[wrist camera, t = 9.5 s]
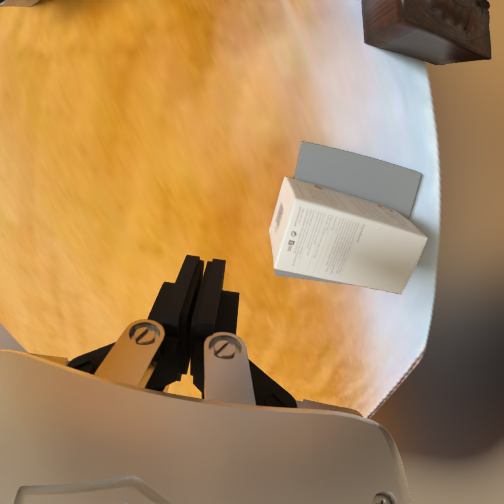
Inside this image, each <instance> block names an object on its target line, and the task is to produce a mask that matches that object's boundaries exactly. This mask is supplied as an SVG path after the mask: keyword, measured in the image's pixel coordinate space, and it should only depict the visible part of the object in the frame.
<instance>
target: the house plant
mask: <svg viewBox="0 0 504 504" xmlns="http://www.w3.org/2000/svg"><path fill="white" fill-rule="evenodd" d="M38 1H39V0H0V7H3V6H14V7H30V6H32V5H34V4H36V3H37V2H38Z"/></svg>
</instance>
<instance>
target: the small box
mask: <svg viewBox="0 0 504 504" xmlns="http://www.w3.org/2000/svg"><path fill="white" fill-rule="evenodd" d="M269 233H270V238H271V245H272V252H273V261H274V269H277V270H282V271H287V272H291V273H296V274H301V275H306V276H311V277H316V278H321V279H326V280H331V281H336V282H341V283H346V284H351V285H356V286H361V287H366V288H371V289H376V290H382V291H387V292H392V293H396V294H402V292H403V290H404V288H405V286H406V284H407V283H408V281H409V279H410V277H411V275H412V273H413V271H414V269H415V267H416V265H417V263H418V260H419V258H420V256H421V254H422V252H423V249H424V247H425V244H426V242H427V240H428V237H427V236H426V235H424V234H423V233H422V232H421V231H420V230H419V229H418V228H417V227H416V226H415V225H414V224H413V223H411V222H410V221H409V220H407V219H406V218H405V217H403V216H402V215H401V214H400V213H398V212H397V211H395V210H394V209H391V208H388V207H386V206H383V205H380V204H377V203H374V202H371V201H368V200H365V199H361V198H358V197H355V196H352V195H349V194H346V193H343V192H339V191H335V190H332V189H329V188H325V187H322V186H318V185H315V184H311V183H308V182H304V181H301V180H297V179H294V178H290V177H284V180H283V183H282V187H281V190H280V193H279V197H278V201H277V205H276V208H275V212H274V215H273V219H272V222H271V226H270V229H269Z"/></svg>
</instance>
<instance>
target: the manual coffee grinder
mask: <svg viewBox="0 0 504 504" xmlns="http://www.w3.org/2000/svg"><path fill="white" fill-rule="evenodd" d="M489 7H490V4H489V2H488V1H487V0H362V16H363V29H364V43H367V44H370V45H373V46H376V47H379V48H383V49H386V50H390V51H394V52H397V53H401V54H404V55H407V56H410V57H413V58H417V59H420V60H422V61H426V62H429V63H431V64H434V65H444V64H449V63H458V62H467V61H475V60H489V59H491V42H490V31H489V18H490V17H489V11H488V9H489Z"/></svg>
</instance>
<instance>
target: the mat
mask: <svg viewBox="0 0 504 504" xmlns="http://www.w3.org/2000/svg"><path fill="white" fill-rule="evenodd" d="M420 177H421V173H420V172H417V171H414V170H411V169H408V168H405V167H402V166H398V165H395V164H392V163H388V162H385V161H381V160H378V159H374V158H371V157H367V156H363V155H360V154H356V153H352V152H348V151H344V150H340V149H336V148H331V147H327V146H322V145H318V144H313V143H308V142H303V141H301V146H300V151H299V157H298V162H297V167H296V172H295V177H294V179H297V180H301V181H304V182H308V183H311V184H315V185H318V186H322V187H325V188H329V189H332V190H335V191H339V192H343V193H346V194H349V195H352V196H355V197H358V198H361V199H365V200H368V201H371V202H374V203H377V204H380V205H383V206H386V207H388V208H391V209H394V210H395V211H397V212H398V213H400V214H401V215H402V216H403V217H405V218H406V219H407V220H408V219H409V215H410V212H411V209H412V206H413V202H414V199H415V195H416V192H417V188H418V185H419V181H420ZM275 275H277V276H284V277H292V278H300V279H307V280H315V281H323V282H331V283H339V284H346V283H341V282H336V281H331V280H326V279H321V278H316V277H311V276H306V275H301V274H296V273H291V272H287V271H282V270H277V269H275ZM348 285H351V284H348Z"/></svg>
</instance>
